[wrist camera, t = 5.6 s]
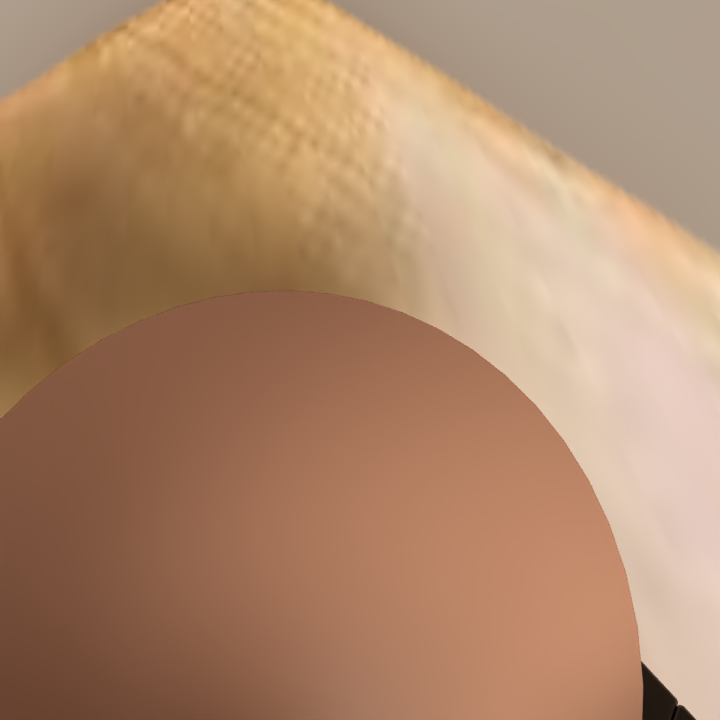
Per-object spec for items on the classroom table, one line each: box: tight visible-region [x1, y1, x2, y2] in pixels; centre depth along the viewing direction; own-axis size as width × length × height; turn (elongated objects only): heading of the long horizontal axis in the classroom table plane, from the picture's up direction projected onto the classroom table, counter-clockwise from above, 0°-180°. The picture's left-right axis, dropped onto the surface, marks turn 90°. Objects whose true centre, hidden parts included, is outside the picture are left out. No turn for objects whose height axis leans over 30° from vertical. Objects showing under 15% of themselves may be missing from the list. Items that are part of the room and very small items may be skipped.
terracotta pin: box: [0, 291, 643, 720], centre depth 8 cm, size 4×4×12 cm
